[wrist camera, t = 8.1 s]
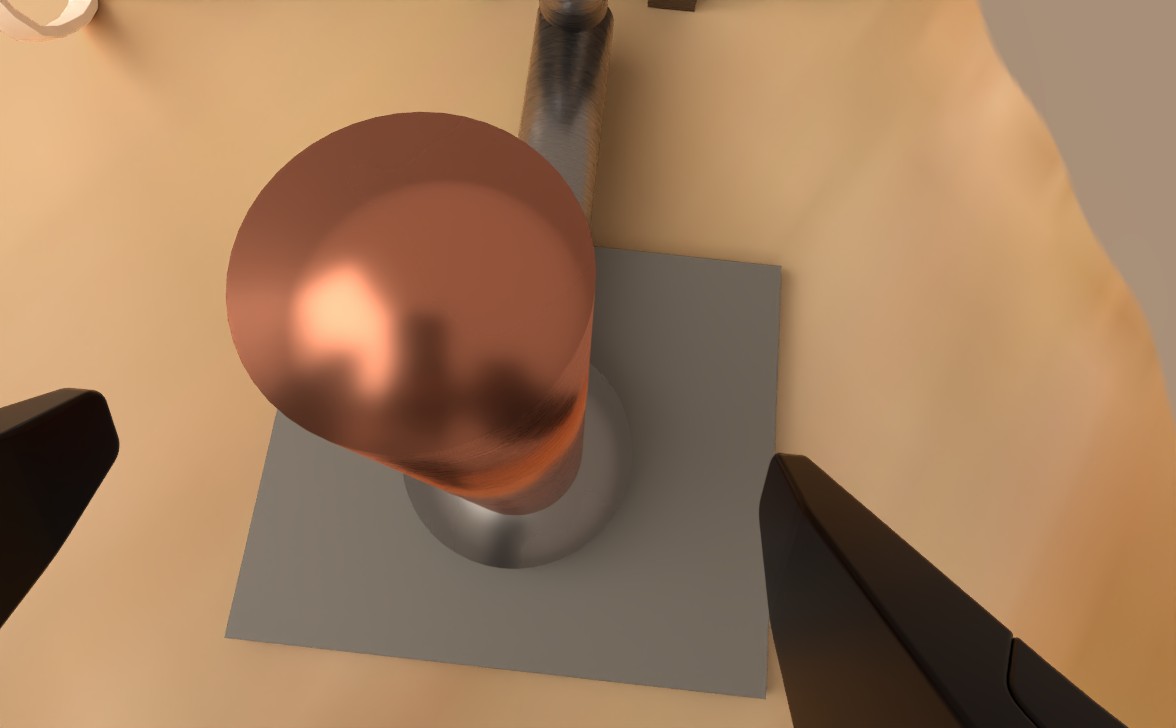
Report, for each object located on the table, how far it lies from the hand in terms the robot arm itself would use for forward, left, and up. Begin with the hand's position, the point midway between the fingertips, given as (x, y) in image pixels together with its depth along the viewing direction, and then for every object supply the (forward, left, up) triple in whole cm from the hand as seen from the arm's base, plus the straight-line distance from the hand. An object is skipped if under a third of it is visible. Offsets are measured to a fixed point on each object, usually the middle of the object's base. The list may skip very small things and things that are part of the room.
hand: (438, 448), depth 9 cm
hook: (+7, 0, -10) cm, 12 cm away
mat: (+2, 0, -10) cm, 10 cm away
